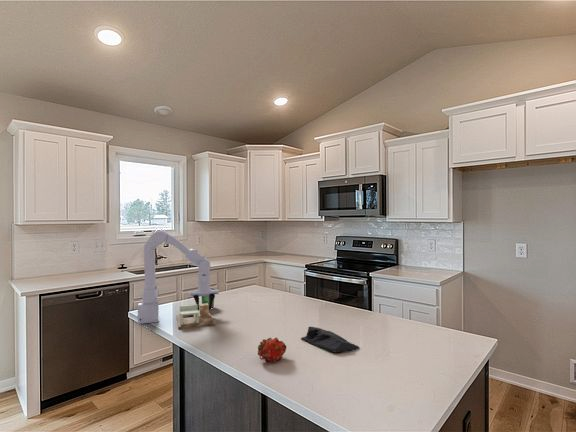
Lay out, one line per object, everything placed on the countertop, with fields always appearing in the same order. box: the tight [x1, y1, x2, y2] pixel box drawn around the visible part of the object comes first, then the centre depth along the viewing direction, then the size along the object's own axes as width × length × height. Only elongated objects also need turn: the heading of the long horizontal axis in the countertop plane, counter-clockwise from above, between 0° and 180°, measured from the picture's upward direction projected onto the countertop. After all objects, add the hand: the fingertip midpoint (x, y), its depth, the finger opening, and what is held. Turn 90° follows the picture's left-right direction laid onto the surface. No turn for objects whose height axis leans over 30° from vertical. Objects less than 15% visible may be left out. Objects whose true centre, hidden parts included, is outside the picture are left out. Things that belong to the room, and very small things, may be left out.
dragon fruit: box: [257, 337, 287, 364], centre depth 116 cm, size 8×8×12 cm
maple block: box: [199, 303, 210, 316], centre depth 166 cm, size 4×4×5 cm
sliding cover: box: [179, 303, 200, 325], centre depth 154 cm, size 8×7×7 cm
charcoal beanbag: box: [300, 326, 360, 354], centre depth 131 cm, size 15×22×5 cm
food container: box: [201, 287, 216, 309], centre depth 182 cm, size 12×6×10 cm, turn 179°
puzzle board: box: [176, 311, 216, 330], centre depth 159 cm, size 16×20×1 cm
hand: (204, 309), depth 166 cm, fingers open, 5 cm apart
